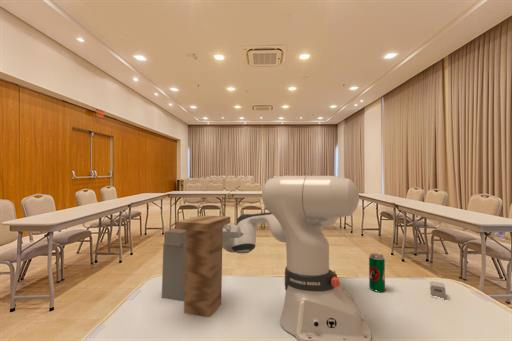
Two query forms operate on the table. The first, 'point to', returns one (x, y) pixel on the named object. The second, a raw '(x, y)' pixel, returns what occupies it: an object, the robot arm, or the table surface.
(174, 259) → the pedestal
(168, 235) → the link bar
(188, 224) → the brown wooden post
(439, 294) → the usb wall charger
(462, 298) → the table surface
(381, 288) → the soda can
